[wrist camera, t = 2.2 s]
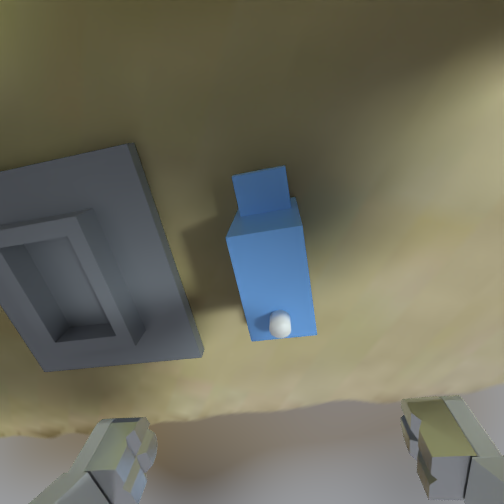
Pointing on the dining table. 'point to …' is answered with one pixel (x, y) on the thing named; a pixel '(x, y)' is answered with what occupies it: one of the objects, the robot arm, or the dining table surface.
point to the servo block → (270, 257)
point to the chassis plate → (91, 264)
